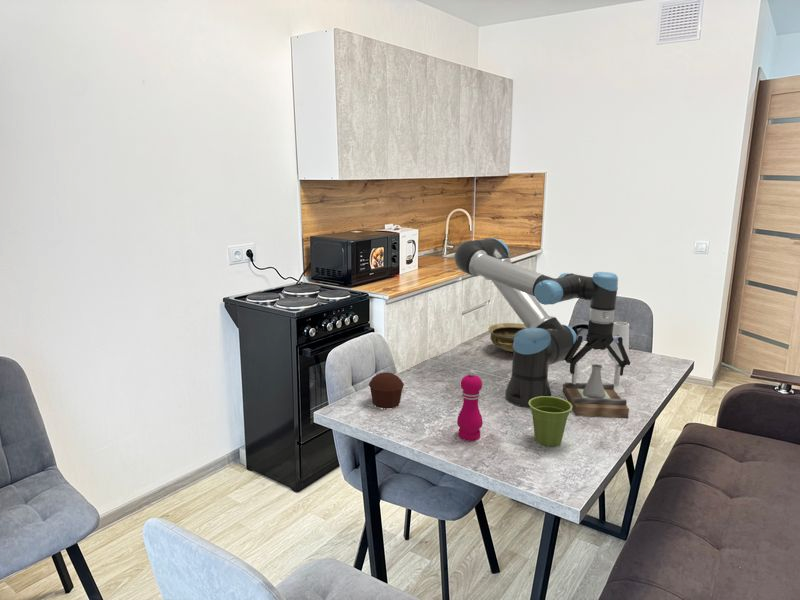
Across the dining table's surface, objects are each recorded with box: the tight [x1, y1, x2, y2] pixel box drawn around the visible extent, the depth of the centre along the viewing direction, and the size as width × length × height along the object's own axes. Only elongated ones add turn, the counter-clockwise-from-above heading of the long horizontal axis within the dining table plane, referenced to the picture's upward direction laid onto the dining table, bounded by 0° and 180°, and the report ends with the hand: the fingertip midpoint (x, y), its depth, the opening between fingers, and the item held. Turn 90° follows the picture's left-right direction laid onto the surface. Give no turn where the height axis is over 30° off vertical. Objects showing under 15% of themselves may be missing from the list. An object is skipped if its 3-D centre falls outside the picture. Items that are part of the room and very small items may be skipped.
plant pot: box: [529, 396, 573, 447], centre depth 157 cm, size 12×12×11 cm
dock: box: [561, 381, 630, 419], centre depth 184 cm, size 16×20×4 cm
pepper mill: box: [456, 369, 483, 442], centre depth 159 cm, size 7×7×20 cm
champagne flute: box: [607, 321, 630, 394], centre depth 194 cm, size 7×7×24 cm
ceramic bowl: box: [488, 322, 527, 356], centre depth 235 cm, size 30×24×10 cm
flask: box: [583, 363, 606, 398], centre depth 182 cm, size 7×7×10 cm
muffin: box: [368, 371, 405, 410], centre depth 182 cm, size 12×11×10 cm
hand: (594, 383), depth 183 cm, fingers open, 13 cm apart
